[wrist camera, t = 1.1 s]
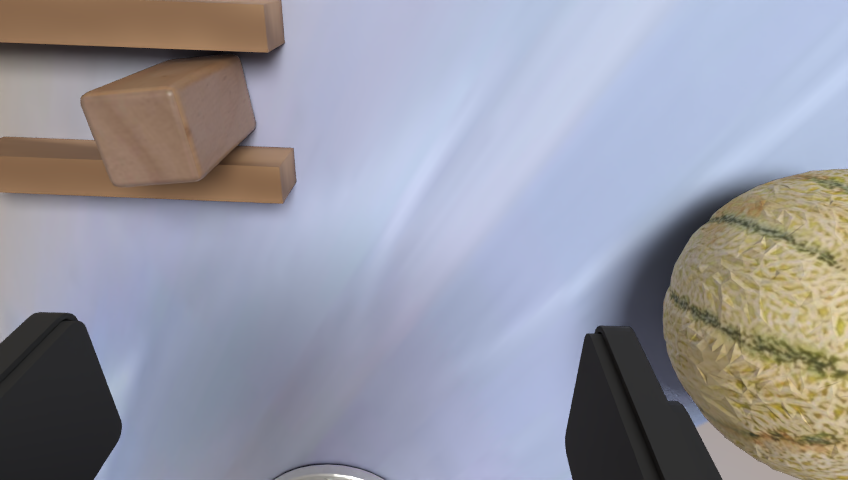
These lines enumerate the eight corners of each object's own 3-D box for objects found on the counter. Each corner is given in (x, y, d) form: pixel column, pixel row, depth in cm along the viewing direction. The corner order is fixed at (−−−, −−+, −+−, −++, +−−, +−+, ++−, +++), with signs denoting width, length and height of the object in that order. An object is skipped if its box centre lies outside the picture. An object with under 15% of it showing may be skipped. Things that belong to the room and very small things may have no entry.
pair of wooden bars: (296, 181, 31) (282, 203, 28) (15, 170, 31) (-25, 191, 28) (281, -1, 26) (263, 4, 24) (-47, -14, 26) (-102, -10, 24)
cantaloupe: (655, 374, 37) (777, 611, 24) (599, 189, 31) (723, 370, 17) (893, 306, 34) (1188, 534, 20) (885, 85, 28) (1301, 208, 14)
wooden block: (241, 51, 27) (172, 85, 20) (259, 128, 29) (202, 184, 22) (165, 58, 28) (71, 95, 21) (188, 134, 30) (109, 191, 23)
